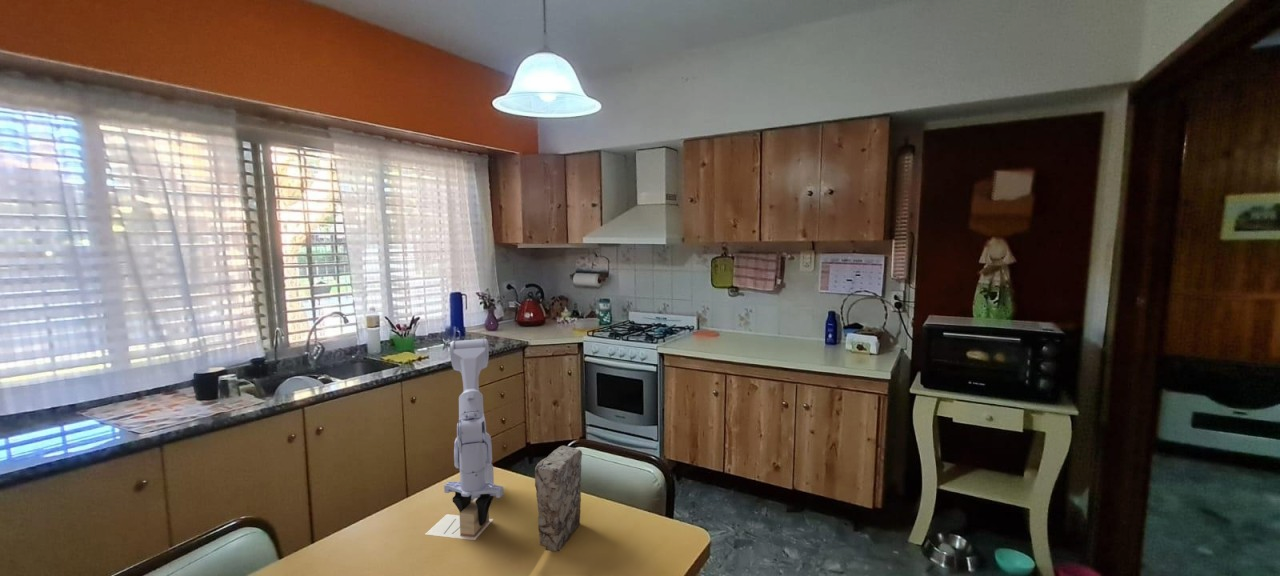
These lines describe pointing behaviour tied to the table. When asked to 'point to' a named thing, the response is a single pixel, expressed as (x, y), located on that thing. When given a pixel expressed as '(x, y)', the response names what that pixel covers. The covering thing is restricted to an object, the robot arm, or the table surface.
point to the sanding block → (471, 520)
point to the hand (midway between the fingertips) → (474, 522)
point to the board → (451, 528)
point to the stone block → (558, 496)
